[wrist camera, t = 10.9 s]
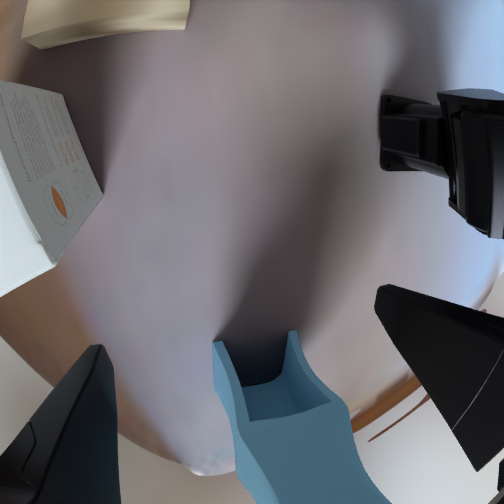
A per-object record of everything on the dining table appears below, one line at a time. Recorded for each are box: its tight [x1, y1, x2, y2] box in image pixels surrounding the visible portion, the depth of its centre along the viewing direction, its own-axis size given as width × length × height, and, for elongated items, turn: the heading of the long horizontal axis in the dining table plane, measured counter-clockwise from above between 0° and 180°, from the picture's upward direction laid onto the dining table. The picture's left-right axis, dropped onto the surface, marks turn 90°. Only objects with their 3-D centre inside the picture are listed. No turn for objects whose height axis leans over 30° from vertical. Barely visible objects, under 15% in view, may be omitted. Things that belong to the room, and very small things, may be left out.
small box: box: [0, 80, 103, 297], centre depth 11 cm, size 8×6×10 cm
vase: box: [212, 330, 392, 504], centre depth 19 cm, size 8×8×20 cm
